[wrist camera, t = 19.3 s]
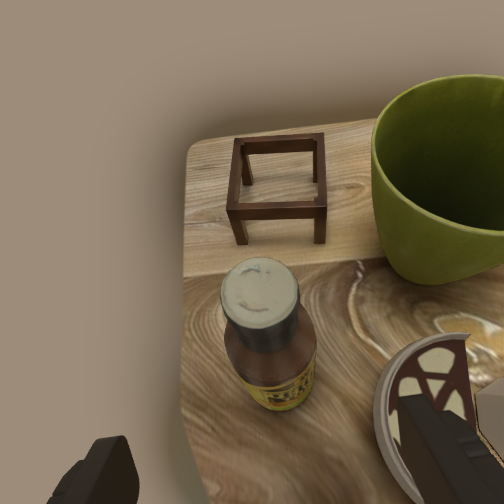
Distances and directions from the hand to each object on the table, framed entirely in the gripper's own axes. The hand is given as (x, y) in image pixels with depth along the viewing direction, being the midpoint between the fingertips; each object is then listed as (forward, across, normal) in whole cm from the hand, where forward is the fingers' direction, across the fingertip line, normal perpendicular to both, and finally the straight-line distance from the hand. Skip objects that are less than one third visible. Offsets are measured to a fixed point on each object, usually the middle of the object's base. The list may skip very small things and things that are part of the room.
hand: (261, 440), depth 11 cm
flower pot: (+30, -17, +6) cm, 34 cm away
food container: (+18, -9, +17) cm, 27 cm away
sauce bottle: (+22, 0, +13) cm, 26 cm away
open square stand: (+36, -3, -1) cm, 36 cm away
